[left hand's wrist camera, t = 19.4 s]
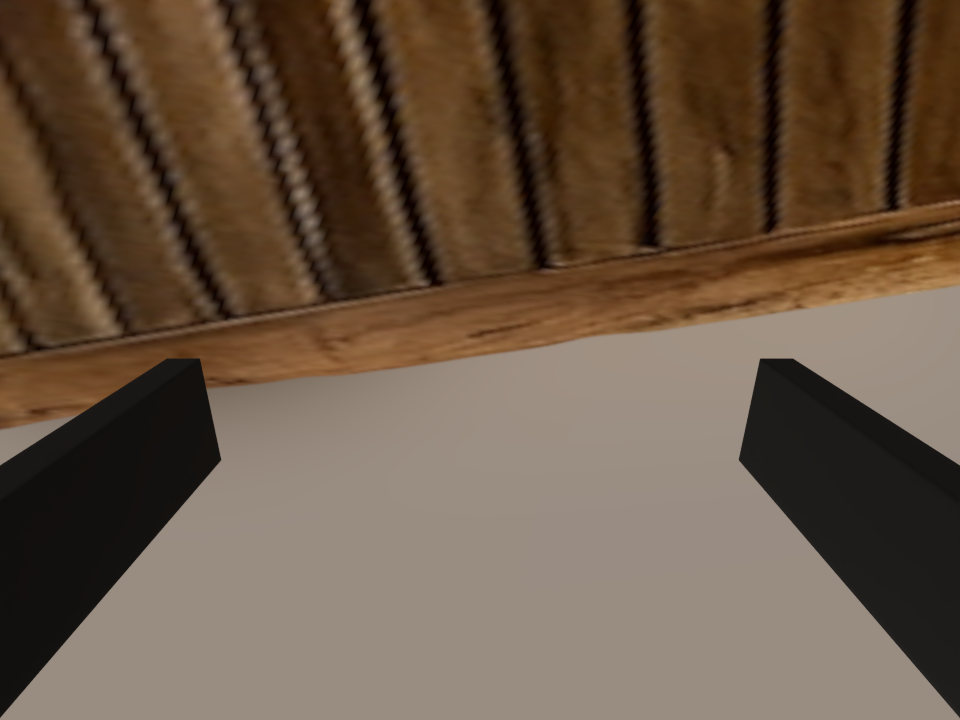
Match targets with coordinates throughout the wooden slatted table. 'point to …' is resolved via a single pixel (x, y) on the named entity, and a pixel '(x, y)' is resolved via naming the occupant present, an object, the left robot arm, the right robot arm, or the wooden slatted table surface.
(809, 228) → the wooden slatted table surface
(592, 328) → the wooden slatted table surface
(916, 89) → the wooden slatted table surface
